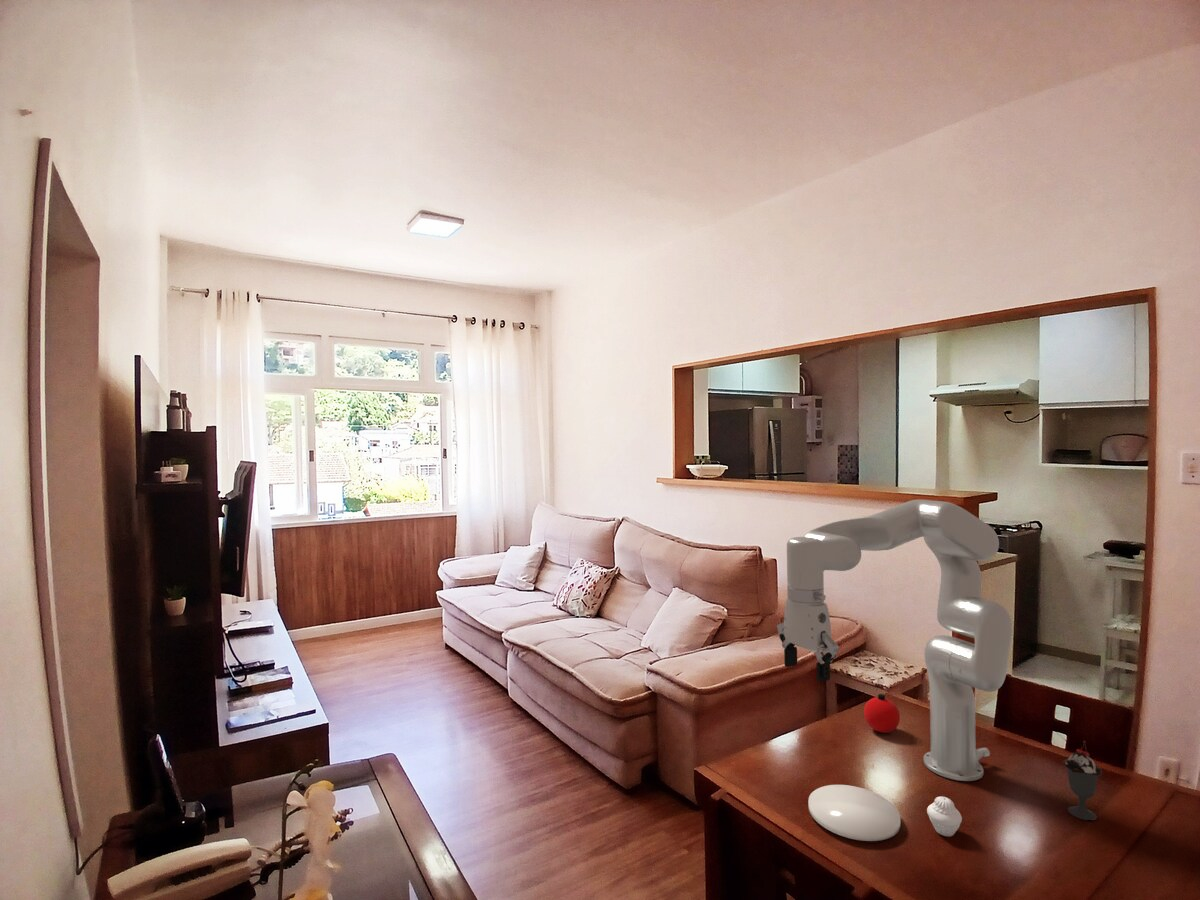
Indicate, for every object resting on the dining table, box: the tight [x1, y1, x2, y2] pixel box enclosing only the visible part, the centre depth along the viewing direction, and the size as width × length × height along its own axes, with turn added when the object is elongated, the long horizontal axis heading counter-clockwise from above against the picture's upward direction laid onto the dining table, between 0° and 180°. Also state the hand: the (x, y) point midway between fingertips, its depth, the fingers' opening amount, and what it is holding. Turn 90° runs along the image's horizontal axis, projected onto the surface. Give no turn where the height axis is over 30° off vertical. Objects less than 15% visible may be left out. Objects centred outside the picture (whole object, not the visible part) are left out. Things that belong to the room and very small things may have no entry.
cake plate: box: [807, 784, 901, 842], centre depth 130 cm, size 18×18×2 cm
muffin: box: [926, 796, 963, 837], centre depth 125 cm, size 6×6×7 cm
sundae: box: [1062, 740, 1103, 821], centre depth 130 cm, size 7×7×15 cm
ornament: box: [863, 693, 901, 734], centre depth 168 cm, size 9×9×10 cm
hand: (806, 673), depth 133 cm, fingers open, 9 cm apart
